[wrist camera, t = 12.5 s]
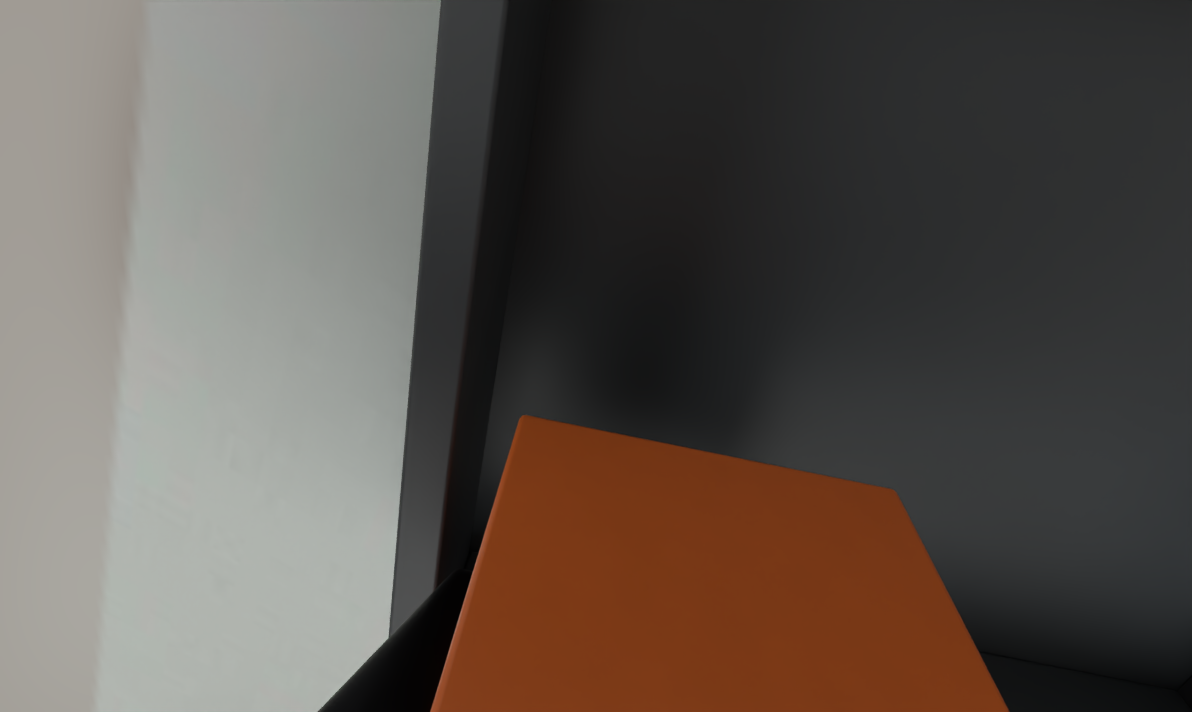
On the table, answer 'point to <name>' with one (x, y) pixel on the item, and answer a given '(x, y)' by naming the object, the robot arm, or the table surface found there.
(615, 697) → the block
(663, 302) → the tub
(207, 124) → the table surface
